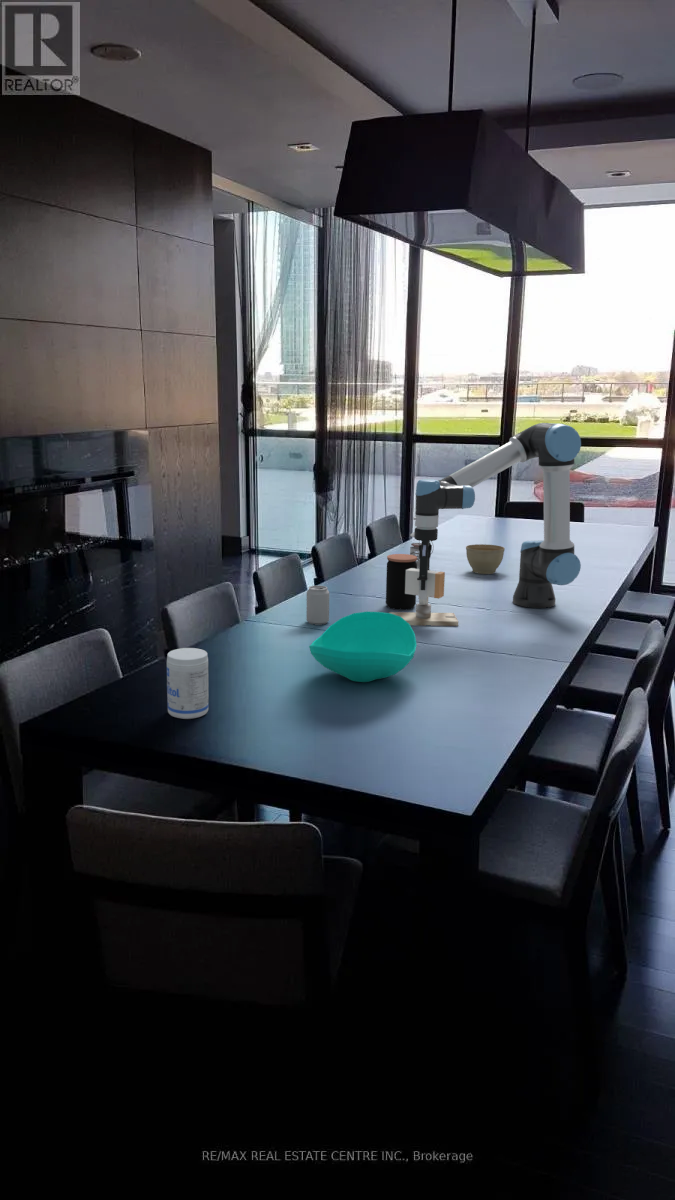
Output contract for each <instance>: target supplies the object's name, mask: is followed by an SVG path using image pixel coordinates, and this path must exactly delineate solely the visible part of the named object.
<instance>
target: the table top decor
mask: <svg viewBox="0 0 675 1200" xmlns="http://www.w3.org/2000/svg"><path fill="white" fill-rule="evenodd" d="M417 646H418V645H417V638H416V634H415V631H414V630H413V628H412V625H410V624H409V623H408V622H406V621H405V620H404V619H403V618H402V617H400V616H397V615H394V614H391V613H389V612H382V611H361V612H353V613H352V614H348V615H346V616H343V617H341V618H339V619H338V620H336V621H335V622H334V623H332V624H331V625H329V627H328V628H326V630H325V631H324V632H323V633H322V634H321V635H320V636H318V637H317V638H315V640H314V641H312V643H311V644H310V645H309V650H310V654H311V655H312V657H313V658H314V659H315V660H316V662H318V663H319V664H321V666H323V667H324V668H326V669H327V670H329V671H332V672H333V673H335V674H338V675H340V676H342V677H345V679H348V680H350V681H352V682H359V683H369V682H373V681H375V680H381V679H385V678H388V677H391V676H395V675H396V674H398V673H399V672H401V671H402V670H403V669H404V668H406V666H408V664H409V663H410V662H412V661H411V660H413V658H414V657H415V653H416V648H417Z"/></svg>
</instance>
